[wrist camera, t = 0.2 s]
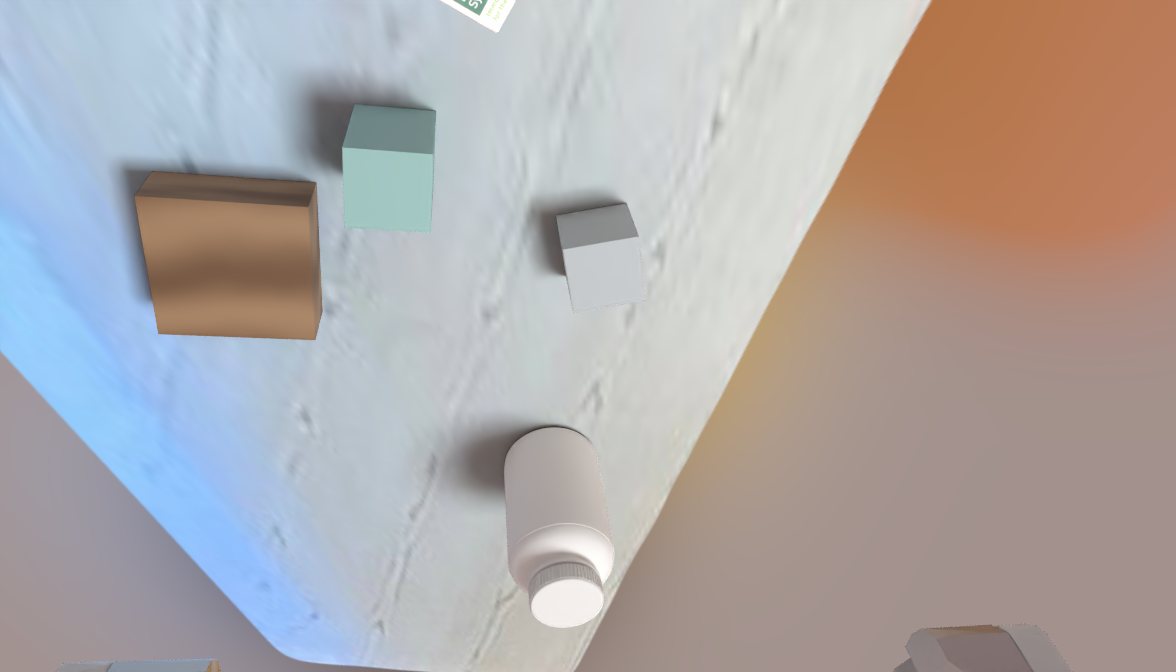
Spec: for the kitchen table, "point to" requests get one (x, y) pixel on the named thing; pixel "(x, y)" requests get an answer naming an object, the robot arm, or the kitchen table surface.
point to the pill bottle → (557, 525)
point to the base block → (231, 255)
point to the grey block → (601, 257)
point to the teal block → (389, 168)
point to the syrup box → (484, 11)
